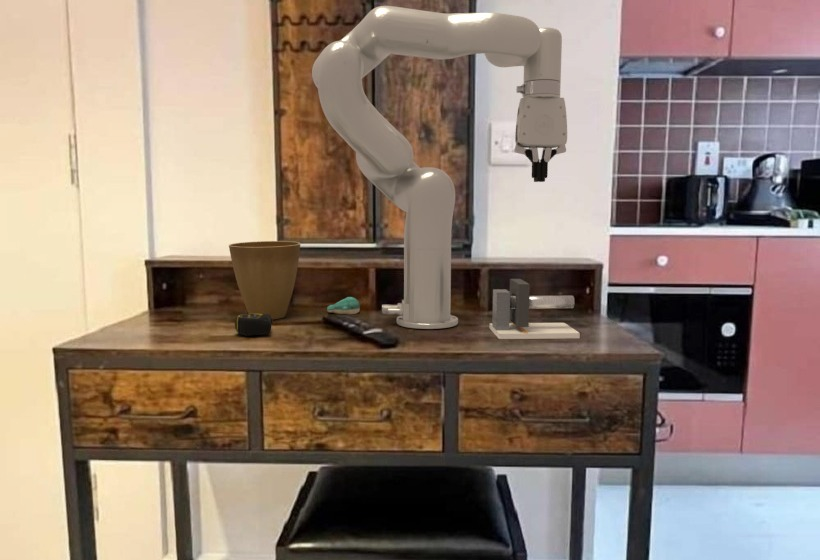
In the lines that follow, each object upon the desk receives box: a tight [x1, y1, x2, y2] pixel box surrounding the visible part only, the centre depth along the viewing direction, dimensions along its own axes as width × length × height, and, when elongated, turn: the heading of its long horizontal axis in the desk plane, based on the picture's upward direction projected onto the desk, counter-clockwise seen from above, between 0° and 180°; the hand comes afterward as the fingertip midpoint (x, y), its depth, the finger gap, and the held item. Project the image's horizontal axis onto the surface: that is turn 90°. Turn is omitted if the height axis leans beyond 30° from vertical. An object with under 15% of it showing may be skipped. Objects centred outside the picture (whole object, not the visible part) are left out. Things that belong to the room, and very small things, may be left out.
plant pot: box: [228, 240, 301, 320], centre depth 140 cm, size 15×15×16 cm
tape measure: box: [234, 313, 274, 337], centre depth 124 cm, size 7×7×4 cm
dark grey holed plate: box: [509, 278, 531, 327], centre depth 124 cm, size 2×8×8 cm, turn 3°
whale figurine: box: [326, 296, 361, 315], centre depth 146 cm, size 6×7×4 cm
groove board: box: [489, 322, 581, 340], centre depth 125 cm, size 15×10×1 cm, turn 93°
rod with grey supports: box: [491, 288, 575, 330], centre depth 125 cm, size 15×4×7 cm, turn 93°
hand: (539, 181), depth 138 cm, fingers closed
